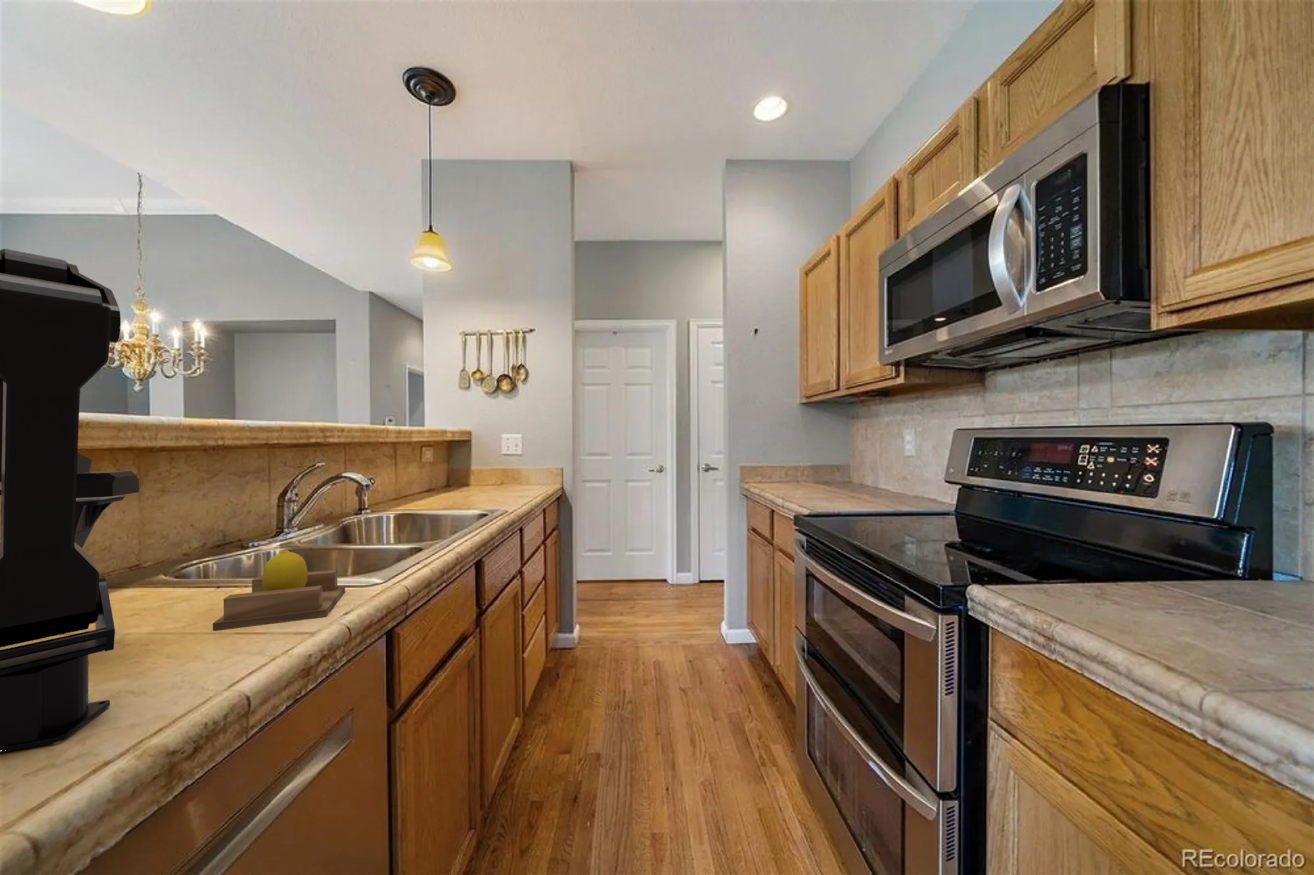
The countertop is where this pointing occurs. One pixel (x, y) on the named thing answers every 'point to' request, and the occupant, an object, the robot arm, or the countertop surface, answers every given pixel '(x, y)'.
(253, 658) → the countertop surface
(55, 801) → the countertop surface
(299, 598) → the cradle
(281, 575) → the lemon
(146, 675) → the countertop surface
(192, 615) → the countertop surface
